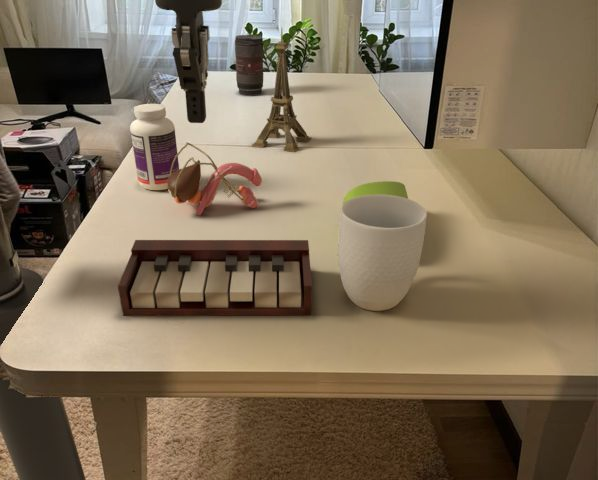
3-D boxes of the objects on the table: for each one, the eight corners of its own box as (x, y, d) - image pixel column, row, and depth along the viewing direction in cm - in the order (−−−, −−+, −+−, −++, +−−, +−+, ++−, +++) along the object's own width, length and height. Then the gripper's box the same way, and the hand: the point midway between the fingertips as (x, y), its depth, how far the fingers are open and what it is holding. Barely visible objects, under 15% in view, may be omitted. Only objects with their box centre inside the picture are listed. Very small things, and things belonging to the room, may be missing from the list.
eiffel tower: (251, 146, 136) (248, 22, 121) (270, 133, 144) (268, 16, 129) (295, 152, 133) (296, 26, 118) (311, 138, 141) (314, 19, 126)
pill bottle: (185, 178, 119) (177, 102, 111) (174, 193, 113) (165, 114, 104) (145, 176, 120) (135, 100, 111) (133, 191, 113) (120, 112, 105)
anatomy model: (278, 195, 104) (217, 133, 95) (223, 248, 107) (159, 194, 98) (266, 175, 112) (208, 116, 103) (215, 225, 115) (155, 173, 106)
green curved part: (343, 161, 101) (362, 218, 86) (411, 173, 103) (441, 231, 88) (331, 203, 106) (348, 264, 90) (396, 214, 108) (423, 275, 93)
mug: (369, 262, 92) (377, 179, 84) (437, 282, 87) (452, 196, 79) (319, 304, 81) (323, 214, 74) (393, 330, 77) (405, 236, 69)
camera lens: (263, 96, 173) (262, 39, 164) (235, 96, 173) (233, 38, 164) (264, 90, 180) (263, 34, 171) (237, 89, 179) (235, 34, 171)
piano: (122, 315, 78) (116, 282, 75) (140, 270, 88) (135, 239, 85) (311, 315, 79) (312, 282, 76) (307, 270, 89) (308, 239, 86)
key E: (180, 301, 78) (179, 292, 77) (188, 270, 85) (187, 261, 84) (203, 301, 78) (202, 292, 77) (209, 270, 85) (208, 261, 84)
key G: (230, 301, 78) (229, 292, 77) (234, 270, 85) (233, 261, 84) (252, 301, 78) (252, 292, 77) (254, 270, 85) (254, 261, 84)
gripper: (161, -46, 71) (175, 107, 81) (139, -39, 60) (158, 136, 70) (225, -44, 71) (230, 108, 81) (213, -36, 60) (222, 137, 71)
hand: (197, 121), depth 76 cm, fingers closed
